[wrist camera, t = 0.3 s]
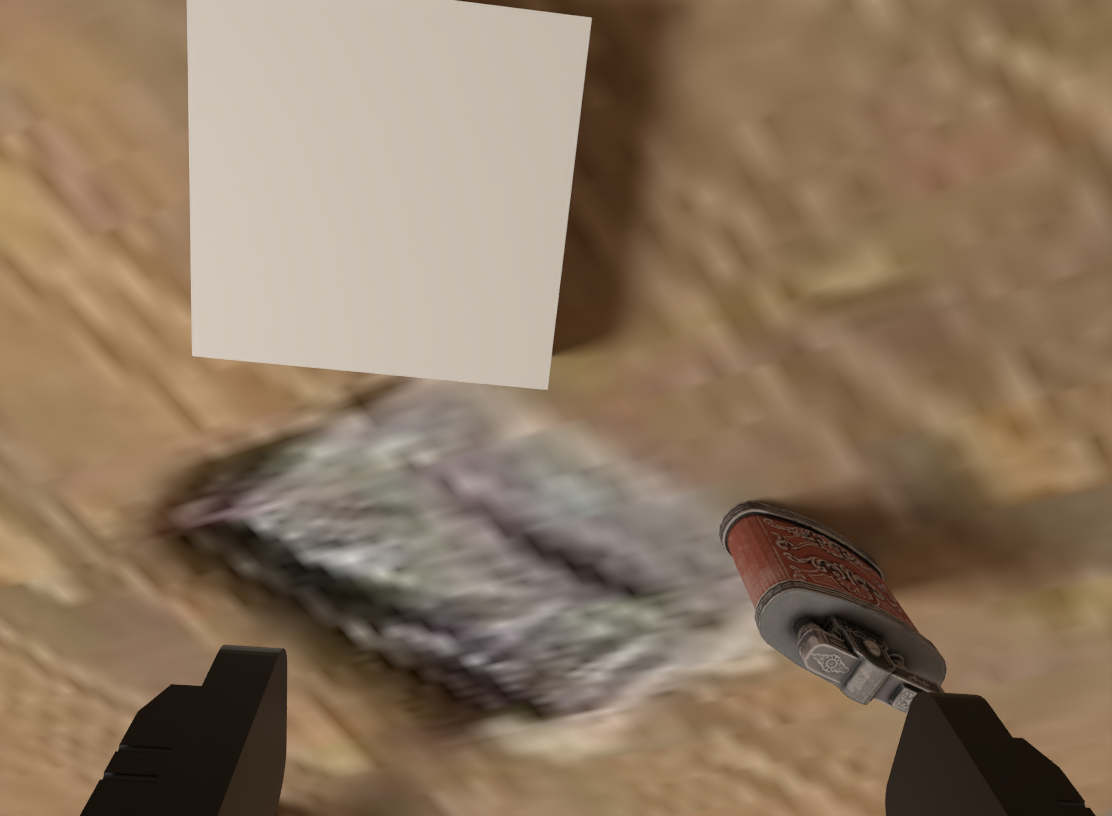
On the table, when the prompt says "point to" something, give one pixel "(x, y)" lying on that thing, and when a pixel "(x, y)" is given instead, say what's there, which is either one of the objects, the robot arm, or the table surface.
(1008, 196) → the table surface
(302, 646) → the table surface
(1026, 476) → the table surface
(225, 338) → the base block
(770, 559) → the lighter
